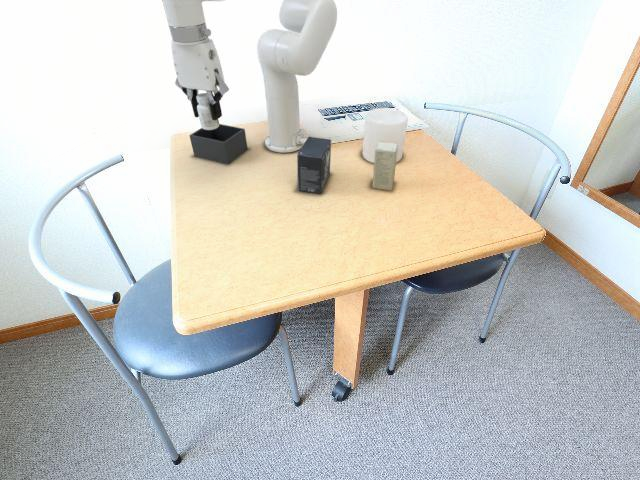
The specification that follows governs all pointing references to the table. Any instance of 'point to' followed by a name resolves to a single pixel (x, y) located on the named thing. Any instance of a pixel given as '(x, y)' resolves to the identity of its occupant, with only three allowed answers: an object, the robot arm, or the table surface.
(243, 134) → the bin
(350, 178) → the table surface
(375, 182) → the box
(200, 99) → the pill bottle
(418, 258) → the table surface
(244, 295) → the table surface
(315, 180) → the box
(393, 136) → the cup
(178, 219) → the table surface
